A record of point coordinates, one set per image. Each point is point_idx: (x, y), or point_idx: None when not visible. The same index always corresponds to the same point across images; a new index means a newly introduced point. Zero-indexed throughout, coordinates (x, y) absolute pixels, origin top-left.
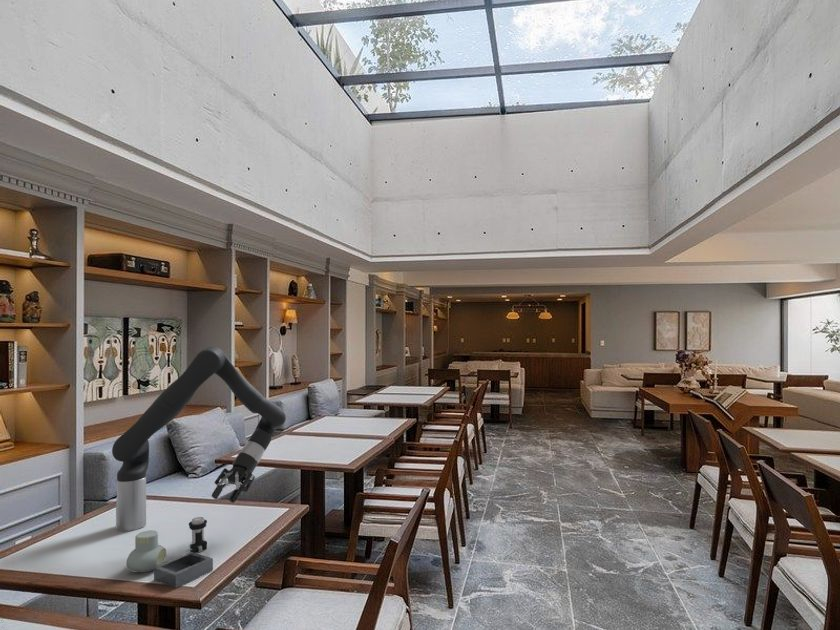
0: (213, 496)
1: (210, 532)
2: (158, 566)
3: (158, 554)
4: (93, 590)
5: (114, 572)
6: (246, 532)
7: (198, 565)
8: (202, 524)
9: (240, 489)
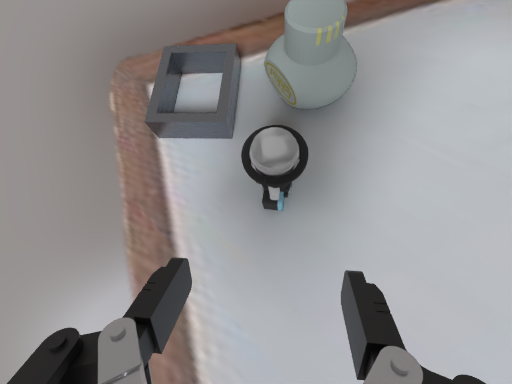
0: (345, 275)
1: None
2: (231, 49)
3: (270, 62)
4: None
5: None
6: (251, 374)
7: (153, 90)
8: (242, 150)
9: (94, 334)
